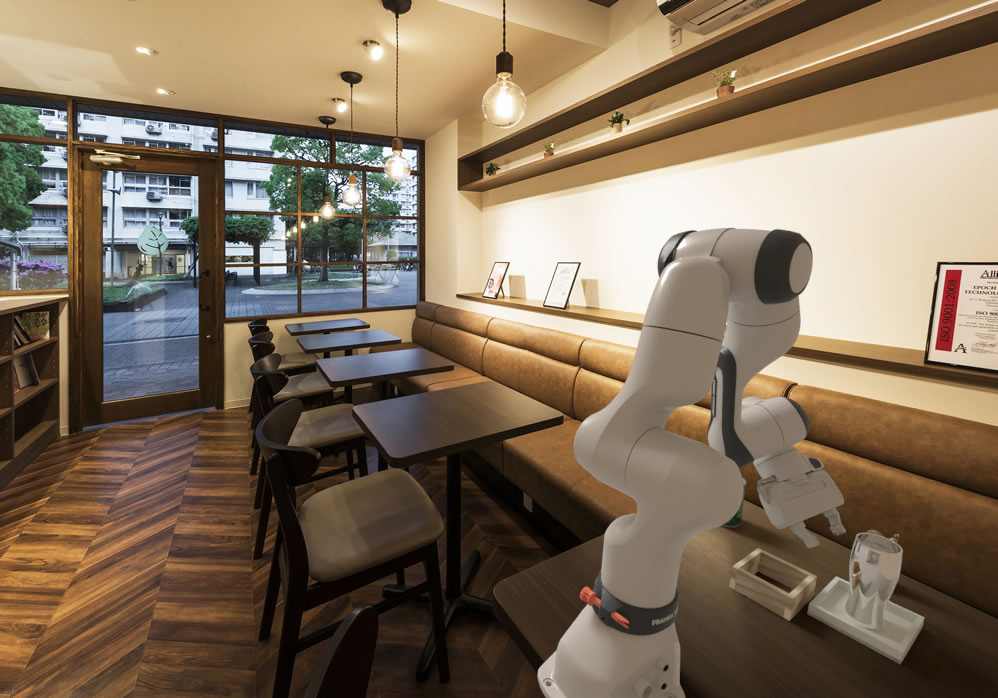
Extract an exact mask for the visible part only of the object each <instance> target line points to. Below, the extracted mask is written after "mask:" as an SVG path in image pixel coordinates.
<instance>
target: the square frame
mask: <svg viewBox="0 0 998 698" xmlns="http://www.w3.org/2000/svg"><path fill="white" fill-rule="evenodd" d="M757 573H760V574H762V575H764V576H765V577H768V578H770V579H772V580H774V581H775V582H778V583H779V584H782V585H783V586H786V587H787V588H789V589H791V591H790V592H787V591H785V590H784V589H782V588H780V587H778V586H776V585H775V584H772V583H770V582H769V581H766V580H764V579H762V578H761V577H759V576H757V575H755V574H757ZM817 579H818V576H817V575H816V574H813V573H812V572H810V571H807V570H806V569H803V568H801V567H799V566H796V565H794V564H793V563H791V562H789V561H786V560H785V559H783V558H780V557H778V556H776V555H774V554H772V553H769V552H767V551H766V550H764V549H761V548H759V547H758V548H756V549H754V550H753V551H751V552H750V553H749V554H748V555H746V556H745V557H744V558H742V559H740V560H739V561H738V562H736V563H735V564H733V565H732V566H731V572H730V579H729V588H730V589H732V590H734V591H736V592H737V593H738V594H741V595H742V596H744V595H745V596H744V597H746V596H747V597H746V598H748V599H749V600H751V601H753V602H755V603H757V604H759V605H760V606H762V607H764V608H766V609H768V610H769V611H771V612H773V613H775V614H776V615H778V616H780V617H782V618H783V619H785V620H787V621H789V622H790V621H791V620H792V619H793V618H794V617H795V616H796V615H797V614H798V613H799V612H800V611H801V610H802V609H803V608H804V607H805V606H806V605H807V604H809V603H810V602H811V601H812V600H813V599H814V596H815V592H816V586H817V585H816V584H817Z"/></svg>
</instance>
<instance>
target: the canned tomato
mask: <svg viewBox="0 0 998 698" xmlns="http://www.w3.org/2000/svg"><path fill="white" fill-rule="evenodd" d="M742 479H743V487H744V492H743V499H742V502H741V505H740V507H739V509H738V511H737V513H736V514H735V515H734V516H733V517H732V518H731V519H730V520H729V521H728V522H727V523H725V524H724V525H722V526H721V527H724V528H738V527H739V526H741V524H742V517H743V508H744V503H745V502H744V501H745V497H746V496H745V494H746V487H747V481H746V479H745V478H744V477H742Z"/></svg>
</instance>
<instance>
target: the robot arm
mask: <svg viewBox="0 0 998 698" xmlns="http://www.w3.org/2000/svg"><path fill="white" fill-rule="evenodd" d="M812 250H813V249H812V246H811V244H810V242H809V241H808V240H807V239H806V238H805V237H804V236H803V235H802V234H801V233H800V232H796V231H792V230H787V229H781V228H780V229H779V228H776V229H772V230H768V229H767V230H765V229H755V228H754V229H753V228H735V227H723V228H722V227H720V228H719V227H718V228H711V229H704V230H695V229H690V230H686V231H682V232H678V233H676V234H673V235H671V237H670V238H669V239H667V241H666V242H665V244H664V245H663V246H662V248H661V249H660V251H659V255H658V258H657V274H658V280H657V282H656V284H655V286H654V289H653V291H652V294H651V296H650V297H651V298H650V299H649V302H648V305H647V309H646V311H645V315H644V319H643V323H642V326H641V330H640V334H639V339H638V343H637V347H636V350H635V354H634V357H633V360H632V363H631V367H630V370H629V372H628V375H627V378H626V380H625V381H624V384H623V385H622V387H621V388H620V390H619V391H618V393H617V394H616V396H615V397H614V398H613V399H612V400H611V401H610V402H609V403H608V404H607V405H606V406H605V407H604V408H602V409H601V410H599V411H596V412H594V413H592V414H590V415H589V416H588V417H586V418H585V419H584V420H583V421H582V422H581V424H580V425H579V427H578V429H577V430H576V433H575V436H574V441H573V453H574V457H575V459H576V461H577V463H578V464H579V465H580V466H581V467H582V468H583V469H585V471H587V473H589V474H590V475H591V476H593V477H594V479H596V480H598V481H599V482H601V483H602V484H604V485H607V486H608V487H611V488H612V489H615V490H617V491H618V492H621V493H622V494H624V495H626V496H629V497H631V499H633V500H634V501H635V502H636V503H635V504H636V507H637V509H636V513H630V514H625V515H621V516H619V517H617V518H615V520H613V521H612V522H611V523H610V524H609V526H608V527H607V529H606V530H605V532H604V534H603V535H604V536H603V547H602V548H603V549H602V558H601V559H602V560H601V569H600V570H599V571H598V575H597V577H596V579H595V582H594V587H593V588H592V589H591V588H590V587H588V586H584V587H583V588H582V589H581V591H580V592H579V593H580V594H579V598H580V600H582V601H583V602H585V603H587V604H586V605H585V607H584V608H583V609H582V610H581V611H580V613H579V614H578V616H577V617H576V618H575V620H574V621H573V622H572V624H571V625H570V626H569V628H568V629H567V630H566V631H565V633H564V634H563V635H562V637H561V638H560V640H559V642H558V644H557V648H556V649H555V651H554V652H553V653H552V654H551V655H550V656H549V657H548V658H547V659H546V660H545V661H544V662H543V663H542V665H540V667H539V668H538V670H537V682H538V684H539V688H540V690H541V692H542V694H543V695H544V697H545V698H686V695H685V692H684V690H683V687H682V686H681V685H682V684H681V683H680V678H681V677H680V673H681V646H680V645H681V644H680V641H679V637H678V634H677V633H678V632H677V629H676V625H675V621H676V618H677V616H678V615H677V614H678V611H679V603H680V600H679V590H678V587H677V586H678V579H679V578H678V577H679V572H680V567H681V566H680V565H681V562H682V556H683V552H684V551H685V548H686V546H687V544H688V543H689V542H690V540H691V539H693V538H694V537H695V536H697V535H698V534H700V533H702V532H706V531H710V530H714V529H717V528H720V527H723V526H722V525H724V524H725V523H727V522H728V521H729V520H730V519H731V518H732V517H733V516H734V515H735V514H736V513H737V511H738V509H739V507H740V505H741V502H742V499H743V492H744V487H743V479H744V478H743V475H742V472H741V470H740V469H741V468H744V467H745V466H747V465H750V464H752V463H753V465H754V468H755V470H756V471H757V473H758V474H759V476H760V479H758V481H757V485H756V486H757V487H756V490H757V493H758V497H759V500H760V503H761V506H763V509H764V512H765V513H766V515H767V517H768V519H769V521H770V523H771V525H773V527H775V528H776V529H778V530H781V529H785V528H787V527H789V528H790V529H791V531H792V533H794V534H795V535H796V536H798V537H799V538H800V540H802V541H803V542H804V544H805V546H806V548H808V549H812V548H815V547H817V546H820V541H819V540H818V537H817V536H816V534H812V533H811V532H809V530H807V528H806V524H805V522H804V521H805V520H808V519H809V518H812V517H815V516H818V515H820V514H823V516H824V517H825V518H827V519H828V522H829V524H830V526H829V529H830V531H831V532H832V534H833V535H834V536H841V535H842V534H846V532H847V530H846V529H845V526H844V524H842V520H841V517H840V512H839V510H838V509H837V508H838V507H840V506H843V505H844V504H845V499H844V496H843V493H842V492H841V490H840V489H839V487H838V486H837V483H836V482H835V481H834V480H833V478H832V477H831V476H830V475H829V473H828V472H827V471H826V470H824V468H825V465H824V463H823V462H822V461H821V459H820V458H818V457H813V456H808V455H806V454H801V453H800V451H799V450H798V448H796V446H794V445H795V444H796V445H797V444H799V443H800V442H802V441H803V440H804V439H806V438H807V437H808V435H809V431H810V427H811V426H810V425H811V421H810V418H809V416H808V414H807V412H806V411H805V410H804V408H803V406H801V405H800V404H799V403H798V402H797V401H795V400H793V398H792V399H791V398H789V397H786V396H783V395H780V396H776V397H769V398H761V397H759V396H755V395H750V396H747V397H743V393H744V390H745V388H746V387H747V385H748V384H749V382H751V380H753V378H754V377H755V376H757V375H758V374H759V373H760V372H761V371H762V370H764V369H765V368H766V367H768V366H769V365H771V364H772V363H773V362H775V361H777V360H778V359H779V358H781V357H783V356H784V355H786V353H788V352H789V350H791V348H793V346H794V344H795V343H796V342H797V340H798V338H799V334H800V331H801V330H800V329H801V322H802V321H801V319H802V318H801V306H800V305H801V303H800V297H799V296H800V295H801V294H803V292H804V291H805V290H806V288H807V285H808V284H809V281H810V278H811V275H812V272H813V263H814V260H813V259H814V258H813V257H814V255H813V251H812ZM710 392H711V393H710ZM709 393H710V418H709V423H708V426H707V432H706V439H707V442H708V444H706V443H704V442H701V441H698V440H696V439H693V438H690V437H687V436H684V435H681V434H678V433H676V432H672V431H670V430H667V429H665V428H666V424H667V423H668V420H669V418H670V416H671V415H672V414H673V412H674V411H675V410H677V409H678V408H682V407H683V408H684V407H687V406H691V405H694V404H697V403H699V402H701V401H702V400H703V399H705V398H706V397H707V395H708V394H709ZM742 478H743V479H742Z"/></svg>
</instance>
